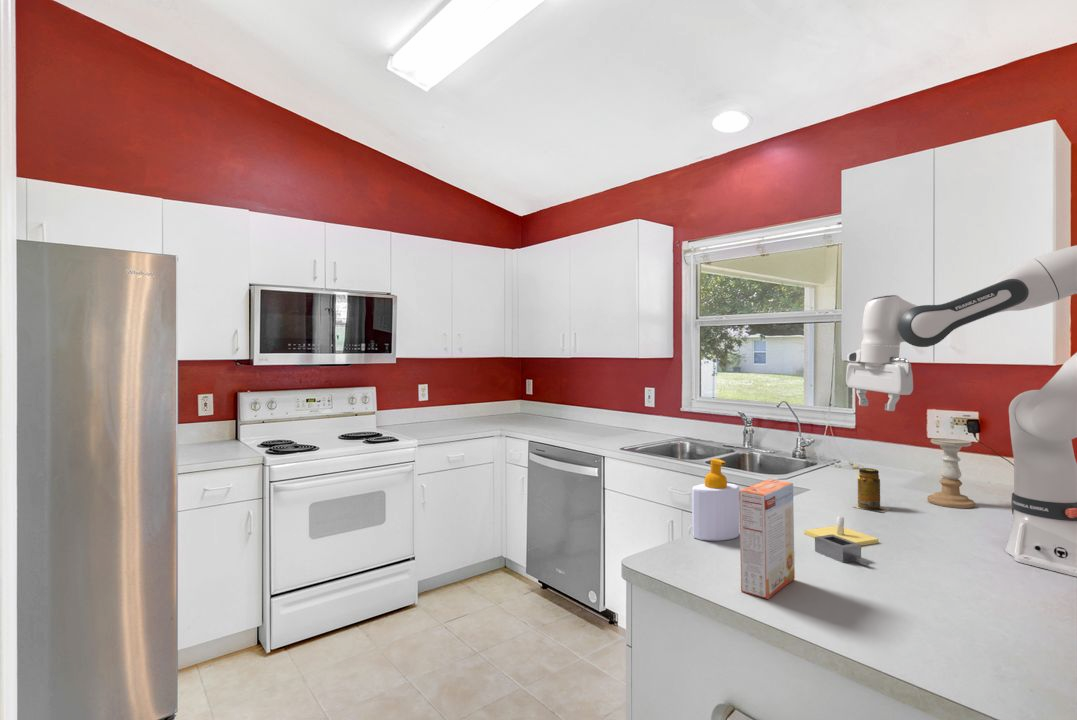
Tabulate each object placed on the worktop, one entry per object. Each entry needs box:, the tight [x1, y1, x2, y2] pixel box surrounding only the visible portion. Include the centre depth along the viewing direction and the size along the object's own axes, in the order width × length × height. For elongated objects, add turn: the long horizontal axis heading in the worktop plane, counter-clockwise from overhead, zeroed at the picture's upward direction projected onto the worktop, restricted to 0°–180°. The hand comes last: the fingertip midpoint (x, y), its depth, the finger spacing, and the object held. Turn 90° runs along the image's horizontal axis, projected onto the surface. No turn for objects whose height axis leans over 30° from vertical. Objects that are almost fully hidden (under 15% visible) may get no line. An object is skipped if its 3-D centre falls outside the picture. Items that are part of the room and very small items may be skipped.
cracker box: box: [739, 478, 796, 600], centre depth 115 cm, size 14×6×21 cm, turn 134°
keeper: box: [803, 515, 879, 547], centre depth 144 cm, size 12×12×6 cm
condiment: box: [852, 467, 892, 513], centre depth 172 cm, size 7×8×12 cm
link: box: [814, 534, 870, 566], centre depth 130 cm, size 12×6×4 cm, turn 20°
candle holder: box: [926, 437, 976, 509], centre depth 176 cm, size 12×12×20 cm
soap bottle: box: [691, 458, 740, 542], centre depth 146 cm, size 13×8×20 cm, turn 105°
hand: (876, 408), depth 148 cm, fingers open, 8 cm apart
